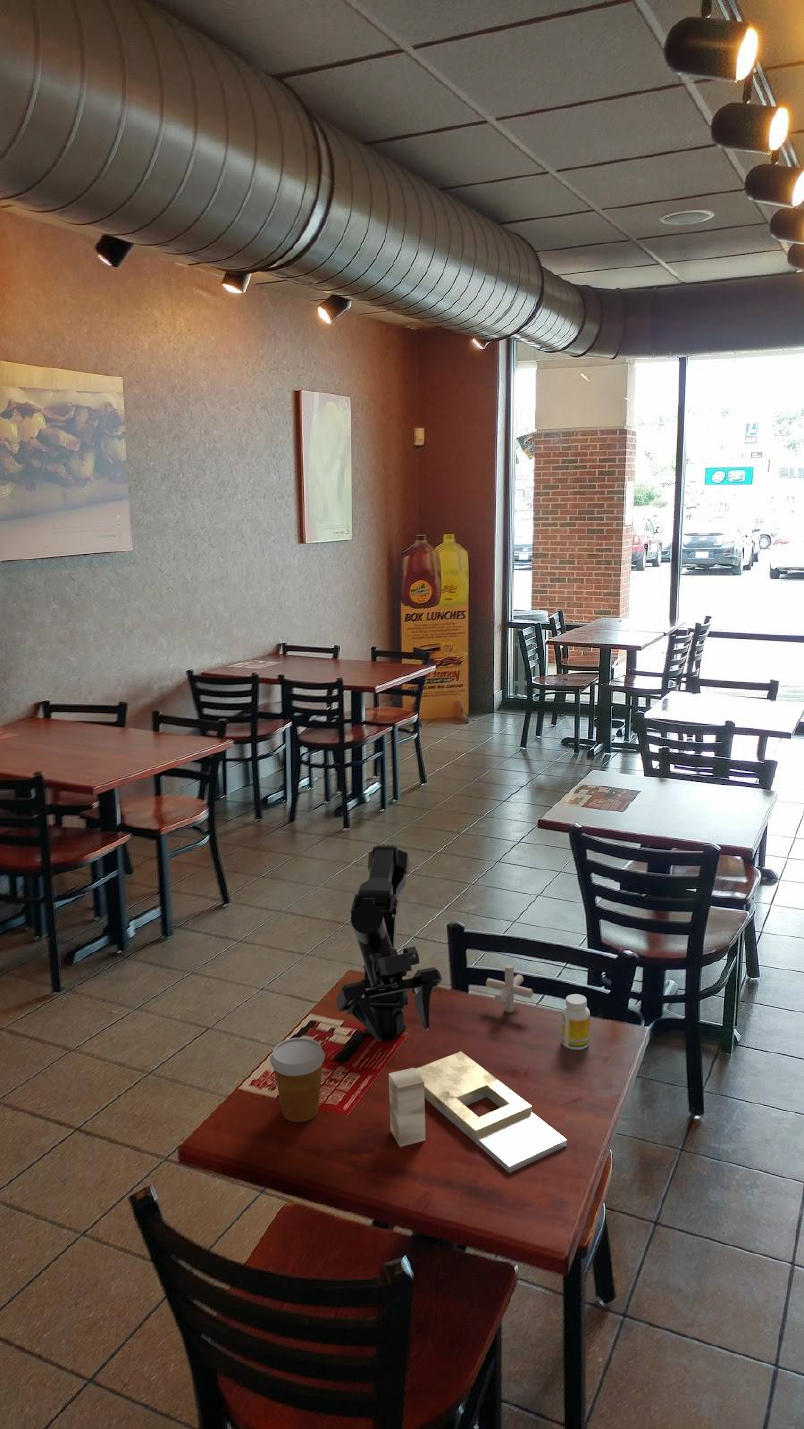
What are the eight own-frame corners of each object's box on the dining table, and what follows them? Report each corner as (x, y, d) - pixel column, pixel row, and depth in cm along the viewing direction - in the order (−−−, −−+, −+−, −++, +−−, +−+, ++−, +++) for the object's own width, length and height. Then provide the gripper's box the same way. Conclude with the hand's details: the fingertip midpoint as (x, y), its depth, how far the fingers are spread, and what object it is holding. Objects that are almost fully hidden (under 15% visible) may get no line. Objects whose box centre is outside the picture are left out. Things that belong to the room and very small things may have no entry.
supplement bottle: (556, 1042, 195) (556, 998, 193) (574, 1033, 198) (574, 989, 196) (577, 1054, 191) (577, 1008, 189) (595, 1043, 194) (595, 999, 192)
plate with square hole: (408, 1083, 183) (407, 1071, 182) (461, 1062, 189) (461, 1051, 189) (509, 1173, 158) (509, 1159, 158) (566, 1145, 164) (566, 1132, 164)
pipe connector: (520, 1027, 201) (520, 981, 199) (477, 1014, 206) (476, 970, 204) (541, 1005, 209) (541, 961, 207) (498, 994, 215) (498, 951, 212)
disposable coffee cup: (264, 1122, 173) (260, 1060, 170) (288, 1091, 182) (285, 1032, 179) (313, 1132, 170) (310, 1069, 167) (336, 1101, 178) (333, 1040, 176)
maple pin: (390, 1131, 169) (388, 1073, 167) (415, 1124, 171) (414, 1067, 169) (399, 1147, 165) (398, 1088, 163) (425, 1140, 167) (424, 1081, 164)
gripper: (340, 941, 171) (365, 1028, 163) (436, 924, 179) (466, 1006, 171) (325, 969, 180) (349, 1052, 171) (418, 951, 187) (445, 1030, 179)
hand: (403, 1034), depth 173 cm, fingers open, 9 cm apart
